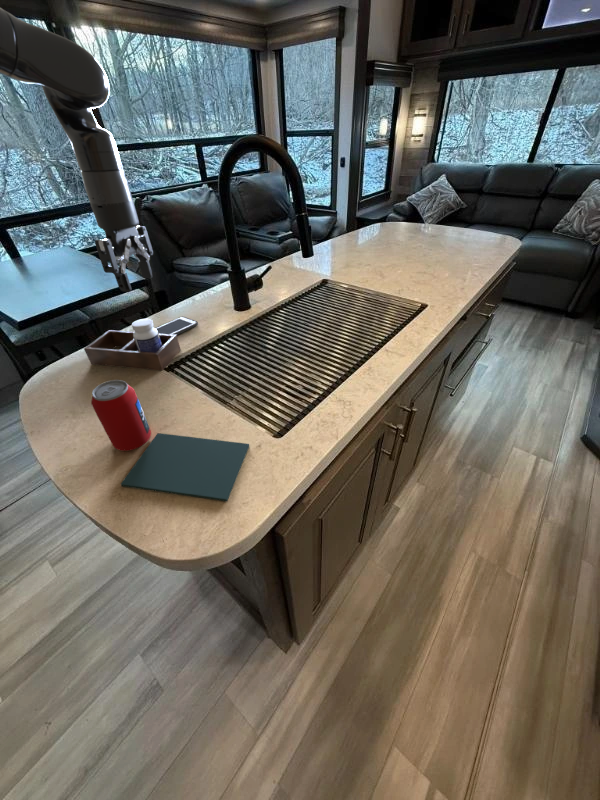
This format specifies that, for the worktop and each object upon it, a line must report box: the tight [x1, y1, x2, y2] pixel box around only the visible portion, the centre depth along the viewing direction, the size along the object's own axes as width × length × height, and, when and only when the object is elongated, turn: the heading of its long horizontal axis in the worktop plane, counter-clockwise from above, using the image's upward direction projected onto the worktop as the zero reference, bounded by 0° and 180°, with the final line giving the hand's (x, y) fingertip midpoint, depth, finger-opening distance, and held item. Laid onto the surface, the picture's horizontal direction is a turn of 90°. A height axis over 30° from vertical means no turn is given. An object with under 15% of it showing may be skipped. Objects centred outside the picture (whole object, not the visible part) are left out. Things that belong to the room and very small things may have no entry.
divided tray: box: [83, 329, 182, 371], centre depth 84 cm, size 19×10×4 cm, turn 80°
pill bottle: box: [131, 318, 162, 353], centre depth 82 cm, size 6×6×10 cm
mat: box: [120, 432, 250, 503], centre depth 57 cm, size 18×12×1 cm, turn 80°
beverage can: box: [90, 379, 152, 452], centre depth 58 cm, size 7×7×12 cm
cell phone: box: [154, 315, 199, 336], centre depth 97 cm, size 8×15×1 cm, turn 144°
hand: (137, 284), depth 73 cm, fingers open, 8 cm apart
